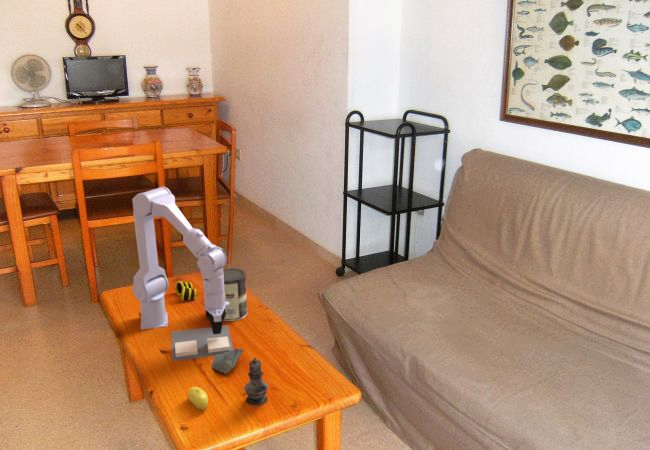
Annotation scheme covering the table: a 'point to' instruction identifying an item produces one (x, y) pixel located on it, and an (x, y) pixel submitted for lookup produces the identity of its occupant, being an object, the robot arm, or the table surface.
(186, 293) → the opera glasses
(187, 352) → the tile
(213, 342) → the tile
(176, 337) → the mat
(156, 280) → the robot arm
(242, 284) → the coffee can
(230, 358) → the stone
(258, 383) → the dark chess piece
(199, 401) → the lemon
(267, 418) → the table surface
